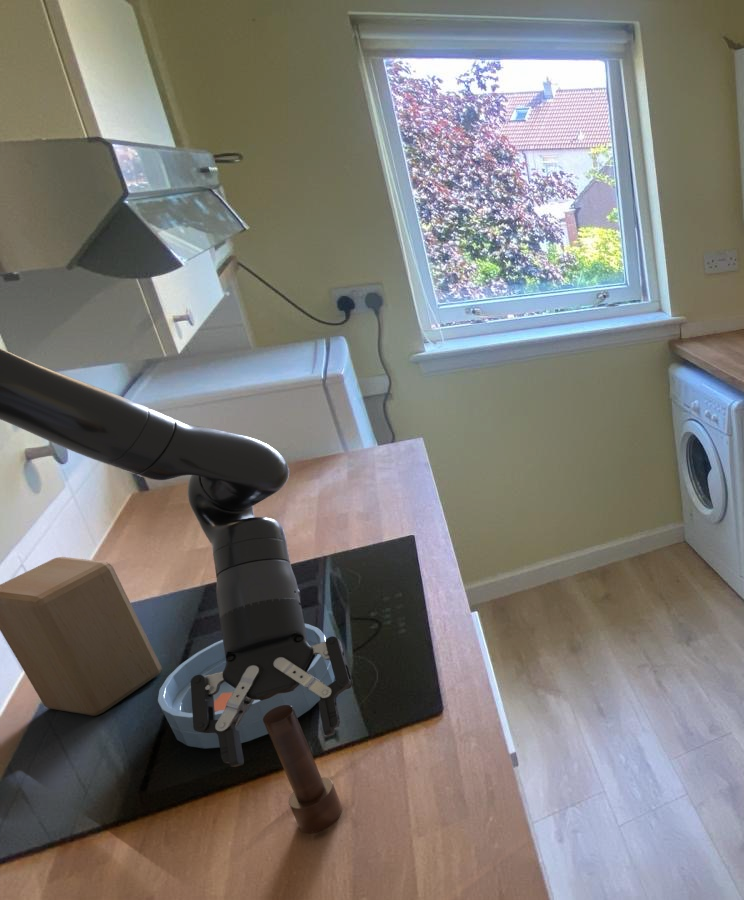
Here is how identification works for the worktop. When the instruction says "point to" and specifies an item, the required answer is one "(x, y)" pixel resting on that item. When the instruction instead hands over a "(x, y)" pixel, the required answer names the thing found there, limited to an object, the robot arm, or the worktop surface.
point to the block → (222, 701)
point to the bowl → (212, 661)
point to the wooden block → (76, 635)
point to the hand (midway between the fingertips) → (284, 749)
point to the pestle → (302, 772)
